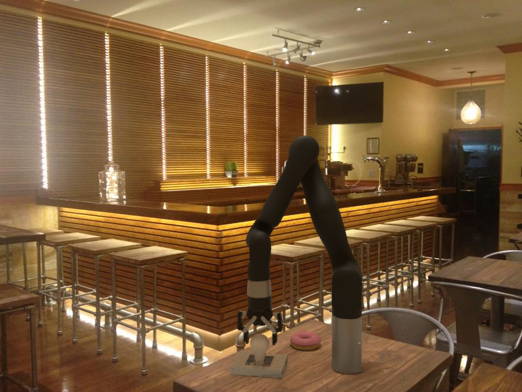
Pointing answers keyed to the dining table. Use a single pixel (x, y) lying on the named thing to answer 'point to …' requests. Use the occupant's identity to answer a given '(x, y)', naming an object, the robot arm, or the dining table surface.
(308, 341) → the doughnut
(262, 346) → the lightbulb
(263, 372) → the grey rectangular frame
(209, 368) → the dining table surface
